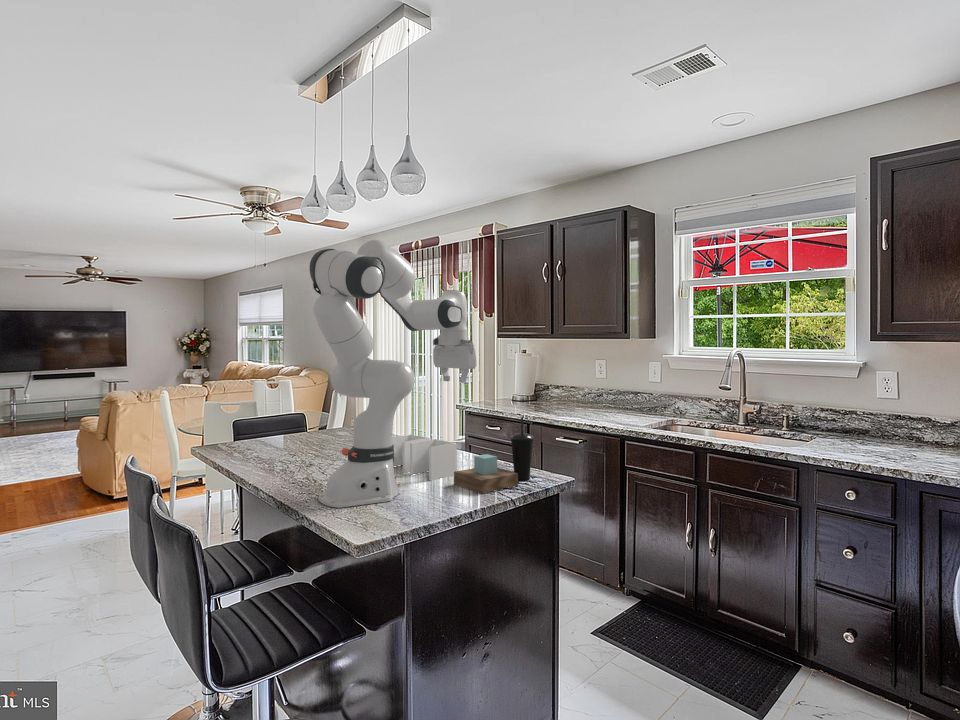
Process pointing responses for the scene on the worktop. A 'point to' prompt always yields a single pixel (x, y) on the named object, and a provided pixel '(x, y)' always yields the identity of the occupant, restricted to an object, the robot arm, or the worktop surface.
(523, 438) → the drinking cup
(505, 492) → the worktop surface
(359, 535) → the worktop surface
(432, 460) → the storage container
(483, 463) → the teal cube
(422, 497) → the worktop surface
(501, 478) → the walnut base
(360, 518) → the worktop surface
